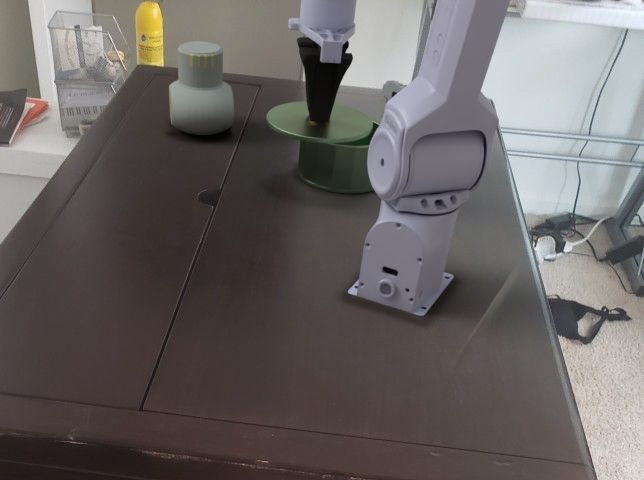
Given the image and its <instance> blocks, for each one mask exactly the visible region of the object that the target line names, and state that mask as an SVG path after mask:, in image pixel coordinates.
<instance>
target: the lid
mask: <svg viewBox="0 0 644 480" xmlns="http://www.w3.org/2000/svg"><path fill="white" fill-rule="evenodd" d="M265 119H266V124H267V125H268V127H269V128H270V129H271V130H272V131H274V132H276V133H277V134H280V135H281V136H283V137H286V138H290V139H292V140H297V141H300V140H301V141H307V142H314V143H345V142H351V141H356V140H359V139H362V138H364V137H366V136H368V135H369V134H370V133H371V131H372V128H373V122H372V120H371V119H372V118H371V117H370V116H369V115H368V114H367V113H365V112H363V111H361V110H359V109H356V108H354V107H351V106H348V105H344V104H339V103H335V102H334V106H333V109H332V112H331V115H330V118H329V121H328V122H314V121H310V117H309V112H308V107H307V100H302V101H301V100H300V101H292V102H286V103H282V104H278V105H276V106H274V107H272V108H271V109H269V111H268V112H267V114H266V118H265Z"/></svg>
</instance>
